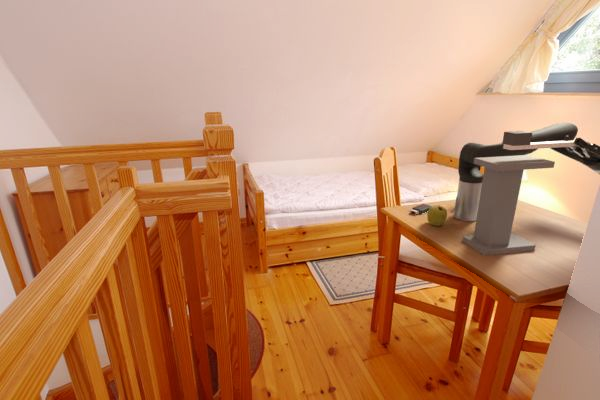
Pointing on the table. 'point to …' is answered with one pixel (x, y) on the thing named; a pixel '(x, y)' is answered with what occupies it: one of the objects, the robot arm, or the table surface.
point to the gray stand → (501, 204)
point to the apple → (436, 215)
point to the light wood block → (523, 141)
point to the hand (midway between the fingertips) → (570, 139)
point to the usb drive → (420, 209)
